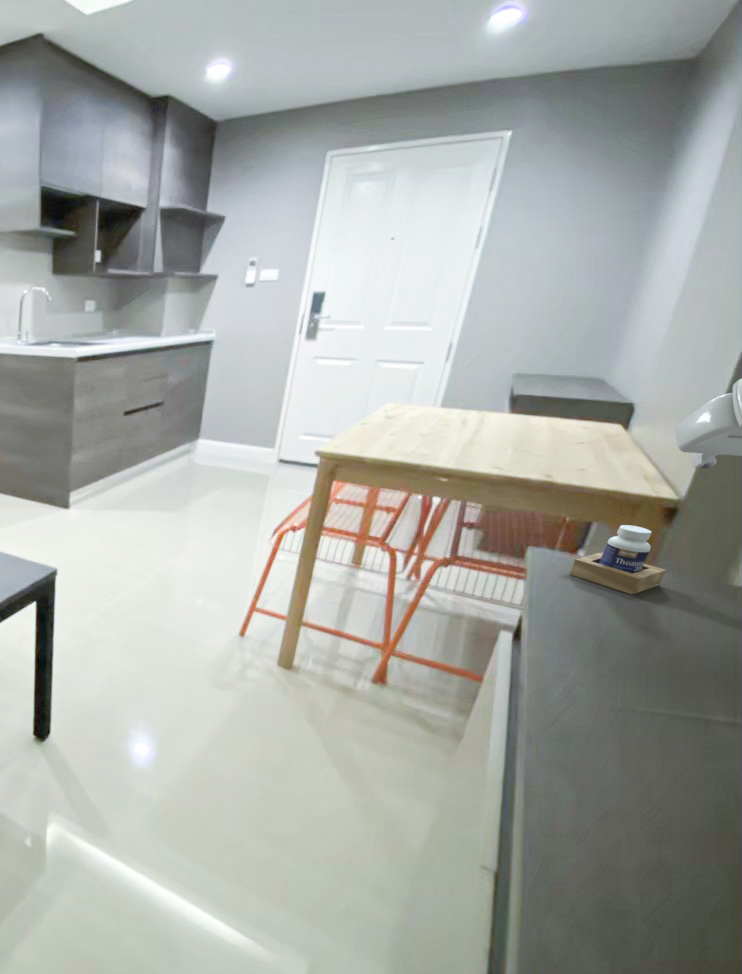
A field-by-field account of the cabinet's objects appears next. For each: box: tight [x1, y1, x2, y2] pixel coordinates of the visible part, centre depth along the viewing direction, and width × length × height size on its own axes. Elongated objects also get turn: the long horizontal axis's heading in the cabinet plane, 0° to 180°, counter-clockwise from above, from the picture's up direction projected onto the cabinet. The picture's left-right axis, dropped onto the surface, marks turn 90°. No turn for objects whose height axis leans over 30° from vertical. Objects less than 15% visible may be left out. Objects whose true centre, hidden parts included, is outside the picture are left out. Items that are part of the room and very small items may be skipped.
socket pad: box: [569, 551, 667, 595], centre depth 108 cm, size 9×9×3 cm
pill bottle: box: [599, 524, 652, 573], centre depth 106 cm, size 5×5×10 cm
